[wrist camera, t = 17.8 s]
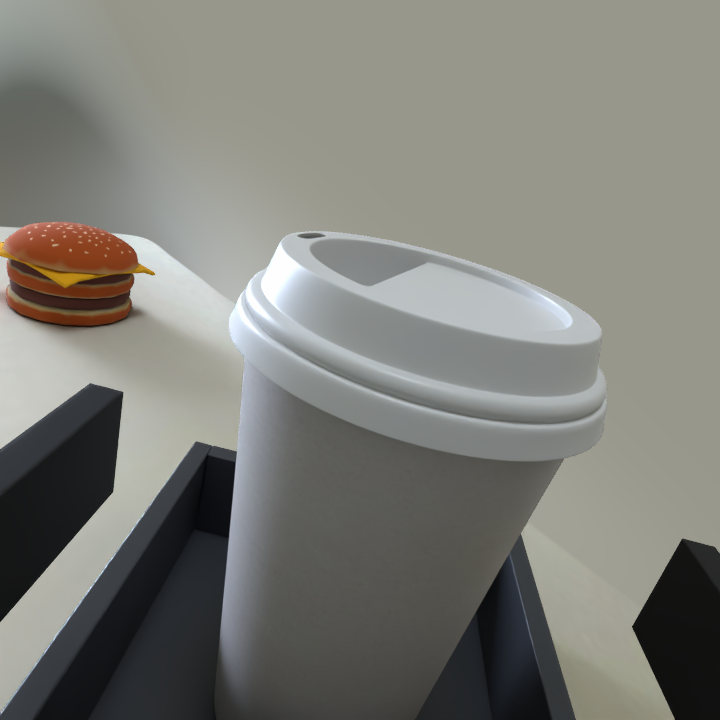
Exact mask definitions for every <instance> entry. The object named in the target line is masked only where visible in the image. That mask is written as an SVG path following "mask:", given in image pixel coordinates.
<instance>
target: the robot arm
mask: <svg viewBox="0 0 720 720" xmlns="http://www.w3.org/2000/svg"><path fill="white" fill-rule="evenodd" d="M122 399H123V392H121V391H117V390H114V389H110V388H106V387H102V386H98V385H94V384H91V383H90V384H89V385H87V386H86V387H85V388H83V389H82V390H81V391H79V392H78V393H77V394H75V395H74V396H72V397H71V398H70V399H68V400H67V401H66V402H64V403H63V404H62V405H60V406H59V407H57V408H56V409H55V410H53V411H52V412H51V413H49V414H48V415H47V416H45V417H44V418H42V419H41V420H40V421H38V422H37V423H36V424H34V425H33V426H32V427H30V428H29V429H27V430H26V431H25V432H23V433H22V434H21V435H19V436H18V437H17V438H15V439H14V440H12V441H11V442H10V443H8V444H7V445H6V446H4V447H3V448H2V449H0V622H1V621H2V620H3V618H4V617H5V616H6V615H7V614H8V613H9V611H10V610H11V609H12V608H13V607H14V606H15V605H16V603H17V602H18V601H19V600H20V599H21V598H22V596H23V595H24V594H25V593H26V592H27V591H28V590H29V588H30V587H31V586H32V585H33V584H34V583H35V581H36V580H37V579H38V578H39V577H40V576H41V575H42V573H43V572H44V571H45V570H46V569H47V568H48V566H49V565H50V564H51V563H52V562H53V561H54V560H55V558H56V557H57V556H58V555H59V554H60V553H61V551H62V550H63V549H64V548H65V547H66V546H67V544H68V543H69V542H70V541H71V540H72V539H73V538H74V536H75V535H76V534H77V533H78V532H79V531H80V529H81V528H82V527H83V526H84V525H85V524H86V523H87V521H88V520H89V519H90V518H91V517H92V516H93V514H94V513H95V512H96V511H97V510H98V509H99V508H100V506H101V505H102V504H103V503H104V502H105V501H106V499H107V498H108V497H109V496H110V495H111V494H112V493H113V488H114V478H115V468H116V459H117V449H118V439H119V429H120V419H121V409H122ZM632 628H633V630H634V632H635V634H636V636H637V639H638V641H639V643H640V645H641V647H642V649H643V651H644V654H645V656H646V658H647V660H648V662H649V664H650V667H651V669H652V671H653V673H654V675H655V677H656V679H657V682H658V684H659V686H660V688H661V690H662V692H663V694H664V697H665V699H666V701H667V703H668V705H669V707H670V710H671V712H672V714H673V716H674V718H675V720H720V553H719V552H718V551H717V549H716V548H715V547H713V546H709V545H705V544H701V543H697V542H693V541H690V540H686V539H682V540H681V542H680V544H679V546H678V547H677V549H676V551H675V552H674V554H673V556H672V558H671V559H670V561H669V563H668V565H667V566H666V568H665V570H664V572H663V573H662V575H661V577H660V579H659V580H658V582H657V584H656V586H655V587H654V589H653V591H652V593H651V594H650V596H649V598H648V600H647V601H646V603H645V605H644V607H643V608H642V610H641V612H640V614H639V616H638V617H637V619H636V621H635V623H634V624H633V626H632Z"/></svg>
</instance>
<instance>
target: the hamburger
mask: <svg viewBox="0 0 720 720" xmlns="http://www.w3.org/2000/svg"><path fill="white" fill-rule="evenodd" d="M0 256H2V257H6V258H8V260H7V272H8V276H9V279H10V284H9V285H8V287H7V289H6V296H7V302H8V305H9V306H10V307H11V308H13V309H14V310H15V311H17V312H18V313H20V314H22V315H25V316H28V317H31V318H34V319H37V320H40V321H43V322H49V323H56V324H62V325H84V326H93V325H100V324H108V323H113V322H115V321H118V320H120V319H123V318H125V317H126V316H127V314H128V313H129V311H130V309H131V306H132V302H131V299H130V298H129V296H130V289H131V287H132V286H133V284H134V275H133V274H132V273H146V274H150V275H155V273H154V272H153V271H151V270H149V269H147V268H146V267H144V266H142V265H141V264H139V263H138V259H137V255H136V252H135V251H134V249H133V248H132V247H131V246H130V245H129V244H127V243H126V242H124V241H123V240H121V239H119V238H117V237H116V236H114V235H112V234H110V233H108V232H106V231H104V230H102V229H99V228H95V227H91V226H87V225H83V224H77V223H69V222H45V223H35V224H31V225H27V226H25V227H23V228H21V229H19V230H18V231H17V232H15V233H14V234H12V235H11V236H10V237H8V238H7V239H6V240H5V242H0Z"/></svg>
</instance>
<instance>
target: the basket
mask: <svg viewBox="0 0 720 720" xmlns="http://www.w3.org/2000/svg"><path fill="white" fill-rule="evenodd" d="M236 457H237V452H236V451H232V450H228V449H224V448H220V447H217V446H213V447H212V446H211V445H208V444H204V443H200V442H195V443H194V444H193V446H192V447H191V449H190V450H189V451H188V453H187V454H186V456H185V457H184V458H183V460H182V461H181V462H180V464H179V465H178V467H177V468H176V469H175V471H174V472H173V474H172V475H171V476H170V478H169V479H168V481H167V482H166V483H165V485H164V486H163V488H162V489H161V490H160V492H159V493H158V494H157V496H156V497H155V499H154V500H153V501H152V503H151V504H150V506H149V507H148V508H147V510H146V511H145V513H144V514H143V515H142V517H141V518H140V520H139V521H138V522H137V524H136V525H135V526H134V528H133V529H132V531H131V532H130V533H129V535H128V536H127V538H126V539H125V540H124V542H123V543H122V545H121V546H120V547H119V549H118V550H117V552H116V553H115V554H114V556H113V557H112V558H111V560H110V561H109V563H108V564H107V565H106V567H105V568H104V570H103V571H102V572H101V574H100V575H99V577H98V578H97V579H96V581H95V582H94V583H93V585H92V586H91V588H90V589H89V590H88V592H87V593H86V595H85V596H84V597H83V599H82V600H81V602H80V603H79V604H78V606H77V607H76V609H75V610H74V611H73V613H72V614H71V615H70V617H69V618H68V620H67V621H66V622H65V624H64V625H63V627H62V628H61V629H60V631H59V632H58V634H57V635H56V636H55V638H54V639H53V641H52V642H51V643H50V645H49V646H48V647H47V649H46V650H45V652H44V653H43V654H42V656H41V657H40V659H39V660H38V661H37V663H36V664H35V666H34V667H33V668H32V670H31V671H30V673H29V674H28V675H27V677H26V678H25V679H24V681H23V682H22V684H21V685H20V686H19V688H18V689H17V691H16V692H15V693H14V695H13V696H12V698H11V699H10V700H9V702H8V703H7V704H6V706H5V707H4V709H3V710H2V711H1V713H0V720H216V716H215V707H214V694H215V682H216V671H217V661H218V650H219V640H220V629H221V619H222V608H223V597H224V587H225V576H226V566H227V555H228V544H229V533H230V523H231V512H232V501H233V490H234V479H235V468H236ZM415 720H576V719H575V715H574V712H573V708H572V705H571V702H570V698H569V695H568V691H567V688H566V685H565V681H564V678H563V675H562V671H561V668H560V664H559V661H558V658H557V654H556V651H555V648H554V644H553V641H552V637H551V634H550V631H549V627H548V624H547V621H546V617H545V614H544V610H543V607H542V604H541V600H540V597H539V594H538V590H537V587H536V583H535V580H534V577H533V573H532V570H531V566H530V563H529V560H528V556H527V553H526V550H525V546H524V543H523V539H522V536H521V534H520V536H519V537H518V539H517V541H516V542H515V544H514V546H513V548H512V549H511V551H510V553H509V555H508V556H507V558H506V560H505V562H504V563H503V565H502V567H501V569H500V570H499V572H498V574H497V576H496V577H495V579H494V581H493V583H492V584H491V586H490V588H489V590H488V591H487V593H486V595H485V597H484V598H483V600H482V602H481V604H480V606H479V607H478V609H477V611H476V613H475V614H474V616H473V618H472V620H471V621H470V623H469V625H468V627H467V628H466V630H465V632H464V634H463V635H462V637H461V639H460V641H459V643H458V644H457V646H456V648H455V650H454V651H453V653H452V655H451V657H450V658H449V660H448V662H447V664H446V665H445V667H444V669H443V671H442V673H441V674H440V676H439V678H438V680H437V681H436V683H435V685H434V687H433V688H432V690H431V692H430V694H429V696H428V697H427V699H426V701H425V703H424V704H423V706H422V708H421V710H420V711H419V713H418V715H417V717H416V719H415Z"/></svg>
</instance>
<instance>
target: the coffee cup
mask: <svg viewBox="0 0 720 720" xmlns="http://www.w3.org/2000/svg"><path fill="white" fill-rule="evenodd" d="M229 332H230V335H231V338H232V340H233V342H234V344H235V346H236V347H237V349H238V350H239V352H240V353H241V354H242V355H243V356H244V358H245V361H244V374H243V386H242V398H241V410H240V422H239V434H238V445H237V457H236V468H235V479H234V490H233V501H232V512H231V523H230V533H229V544H228V555H227V566H226V576H225V587H224V597H223V608H222V619H221V629H220V640H219V650H218V661H217V671H216V682H215V694H214V707H215V716H216V720H415V719H416V717H417V715H418V713H419V711H420V710H421V708H422V706H423V704H424V703H425V701H426V699H427V697H428V696H429V694H430V692H431V690H432V688H433V687H434V685H435V683H436V681H437V680H438V678H439V676H440V674H441V673H442V671H443V669H444V667H445V665H446V664H447V662H448V660H449V658H450V657H451V655H452V653H453V651H454V650H455V648H456V646H457V644H458V643H459V641H460V639H461V637H462V635H463V634H464V632H465V630H466V628H467V627H468V625H469V623H470V621H471V620H472V618H473V616H474V614H475V613H476V611H477V609H478V607H479V606H480V604H481V602H482V600H483V598H484V597H485V595H486V593H487V591H488V590H489V588H490V586H491V584H492V583H493V581H494V579H495V577H496V576H497V574H498V572H499V570H500V569H501V567H502V565H503V563H504V562H505V560H506V558H507V556H508V555H509V553H510V551H511V549H512V548H513V546H514V544H515V542H516V541H517V539H518V537H519V536H520V534H521V532H522V530H523V529H524V527H525V525H526V523H527V522H528V520H529V518H530V516H531V515H532V513H533V511H534V510H535V508H536V506H537V504H538V503H539V501H540V499H541V497H542V496H543V494H544V492H545V491H546V489H547V487H548V485H549V484H550V482H551V480H552V479H553V477H554V475H555V473H556V472H557V470H558V468H559V467H560V465H561V463H562V461H563V460H564V458H568V457H571V456H575V455H578V454H580V453H583V452H585V451H587V450H589V449H590V448H592V447H593V446H594V445H595V444H596V443H597V442H598V441H599V440H600V438H601V437H602V434H603V431H604V421H605V415H606V410H607V398H606V393H607V384H606V379H605V377H604V374H603V372H602V371H601V369H600V368H599V366H598V364H599V357H600V350H601V342H602V330H601V328H600V326H599V324H598V323H597V322H596V321H595V320H594V319H593V318H592V317H591V316H589V315H588V314H587V313H585V312H584V311H583V310H581V309H580V308H578V307H576V306H575V305H573V304H571V303H570V302H568V301H566V300H564V299H562V298H560V297H558V296H557V295H554V294H552V293H550V292H548V291H546V290H544V289H542V288H540V287H537V286H535V285H533V284H530V283H528V282H525V281H523V280H521V279H518V278H516V277H513V276H510V275H508V274H505V273H502V272H500V271H497V270H494V269H491V268H488V267H485V266H482V265H479V264H476V263H473V262H470V261H467V260H464V259H460V258H457V257H454V256H450V255H447V254H443V253H440V252H436V251H432V250H429V249H424V248H421V247H416V246H413V245H408V244H404V243H399V242H395V241H390V240H385V239H379V238H374V237H368V236H362V235H355V234H348V233H337V232H325V231H310V232H309V231H307V232H298V233H293V234H290V235H288V236H286V237H284V238H283V239H282V240H281V243H280V244H279V246H278V248H277V250H276V252H275V254H274V256H273V258H272V260H271V262H270V264H269V266H268V268H266V269H264V270H262V271H260V272H259V273H257V274H256V275H255V276H254V277H253V278H252V279H251V280H250V282H249V284H248V286H247V288H245V290H244V291H243V292H242V294H241V295H240V297H239V300H238V302H237V304H236V306H235V308H234V310H233V312H232V314H231V316H230V319H229Z"/></svg>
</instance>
